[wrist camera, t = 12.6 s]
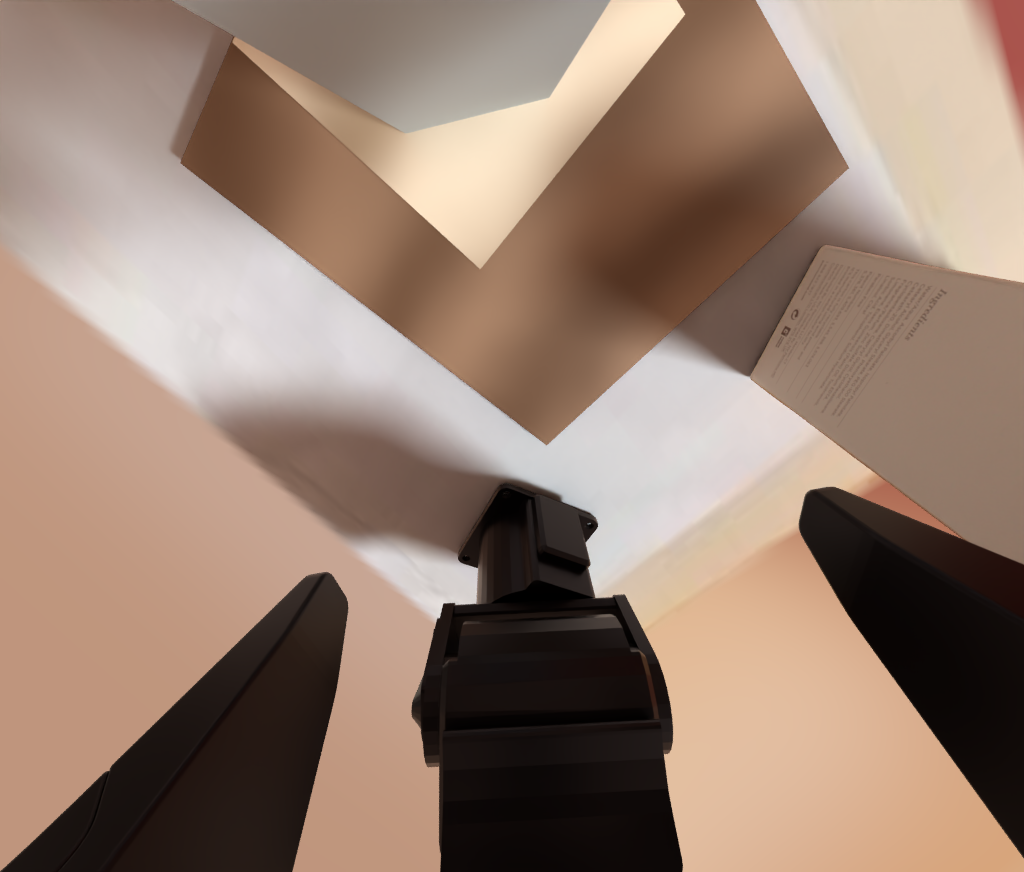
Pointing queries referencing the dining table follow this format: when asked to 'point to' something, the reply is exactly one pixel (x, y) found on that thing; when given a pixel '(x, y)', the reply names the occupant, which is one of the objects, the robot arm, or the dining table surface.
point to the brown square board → (537, 196)
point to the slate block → (416, 49)
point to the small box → (913, 383)
